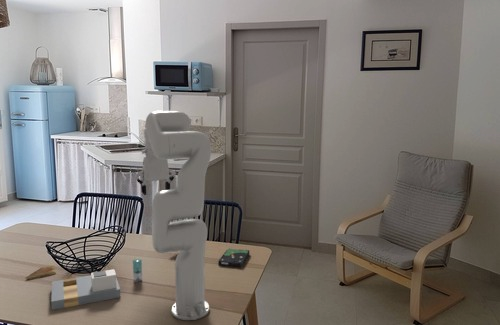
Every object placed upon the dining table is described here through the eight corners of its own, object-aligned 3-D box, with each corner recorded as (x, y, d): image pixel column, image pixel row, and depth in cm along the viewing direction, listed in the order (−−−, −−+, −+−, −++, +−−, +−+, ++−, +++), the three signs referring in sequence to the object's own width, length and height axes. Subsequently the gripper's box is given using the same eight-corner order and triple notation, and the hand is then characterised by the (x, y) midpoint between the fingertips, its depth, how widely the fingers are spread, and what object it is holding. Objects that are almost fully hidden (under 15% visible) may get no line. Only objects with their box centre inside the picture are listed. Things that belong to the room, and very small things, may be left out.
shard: (25, 281, 158) (25, 277, 158) (24, 274, 165) (23, 269, 164) (56, 275, 164) (55, 270, 163) (53, 268, 170) (53, 264, 170)
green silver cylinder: (142, 281, 158) (142, 261, 157) (134, 282, 157) (133, 263, 156) (141, 277, 161) (140, 258, 160) (133, 279, 160) (132, 259, 159)
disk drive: (241, 269, 172) (249, 255, 186) (241, 263, 171) (249, 249, 185) (218, 267, 174) (227, 253, 188) (218, 260, 173) (227, 247, 188)
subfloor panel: (120, 297, 146) (120, 289, 146) (52, 310, 137) (51, 301, 136) (114, 278, 160) (114, 271, 160) (52, 289, 151) (51, 281, 151)
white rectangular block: (116, 287, 146) (116, 273, 146) (92, 292, 143) (91, 277, 142) (114, 282, 151) (114, 268, 150) (91, 286, 148) (90, 272, 147)
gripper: (135, 155, 161) (137, 197, 164) (178, 152, 169) (178, 193, 172) (131, 152, 168) (133, 193, 170) (172, 150, 176) (173, 189, 179)
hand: (156, 193), depth 171 cm, fingers open, 9 cm apart
